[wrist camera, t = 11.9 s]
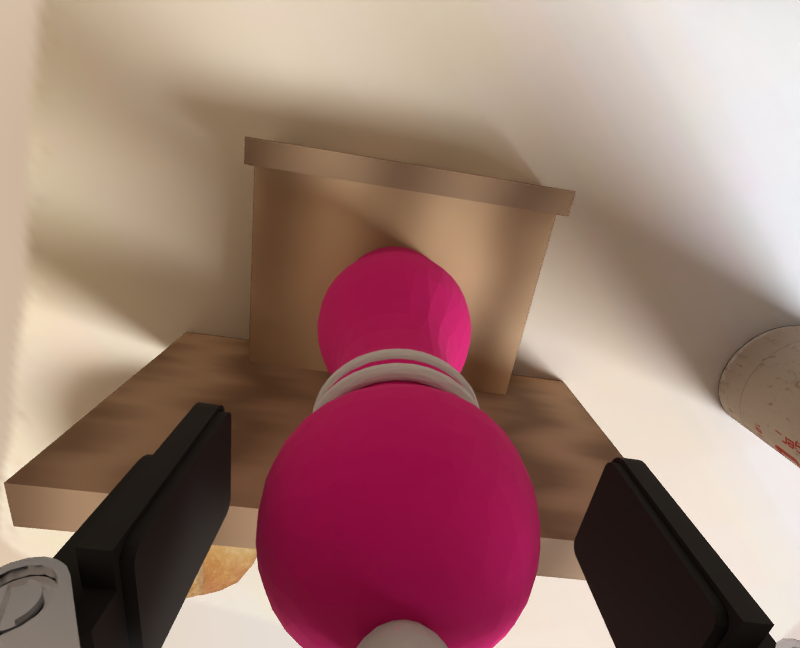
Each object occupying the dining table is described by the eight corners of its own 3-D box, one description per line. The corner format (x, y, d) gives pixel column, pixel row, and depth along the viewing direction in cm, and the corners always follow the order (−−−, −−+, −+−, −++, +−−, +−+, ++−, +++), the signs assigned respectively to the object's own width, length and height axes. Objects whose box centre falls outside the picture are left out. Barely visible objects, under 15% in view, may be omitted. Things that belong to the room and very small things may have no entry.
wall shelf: (623, 199, 25) (873, 239, 12) (555, 405, 30) (680, 588, 17) (180, 126, 23) (-88, 79, 10) (187, 359, 28) (13, 526, 15)
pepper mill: (322, 242, 23) (9, 598, 4) (454, 231, 23) (750, 544, 4) (339, 361, 25) (194, 912, 7) (458, 352, 25) (647, 883, 7)
